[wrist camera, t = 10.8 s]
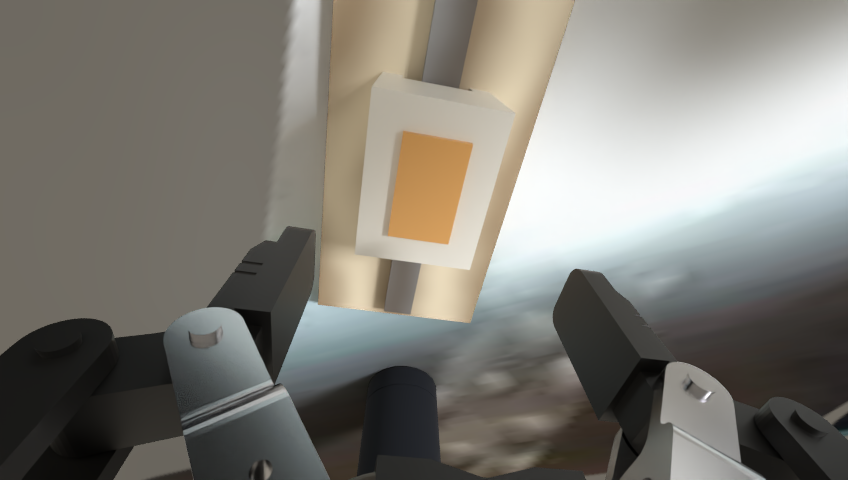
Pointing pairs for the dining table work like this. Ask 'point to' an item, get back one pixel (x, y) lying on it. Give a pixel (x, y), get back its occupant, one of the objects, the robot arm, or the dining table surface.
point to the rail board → (443, 65)
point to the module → (429, 170)
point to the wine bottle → (399, 417)
